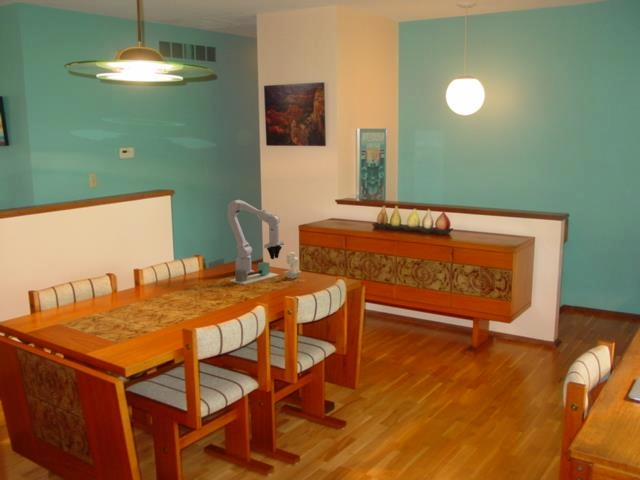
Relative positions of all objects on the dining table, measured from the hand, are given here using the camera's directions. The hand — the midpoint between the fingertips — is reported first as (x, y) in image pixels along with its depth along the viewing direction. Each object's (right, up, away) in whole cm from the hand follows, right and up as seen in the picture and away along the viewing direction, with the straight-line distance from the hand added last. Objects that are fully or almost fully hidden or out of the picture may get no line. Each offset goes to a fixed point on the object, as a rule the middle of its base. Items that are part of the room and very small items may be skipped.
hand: (274, 258), depth 382 cm
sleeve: (-6, -9, -5) cm, 12 cm away
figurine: (+11, -11, -8) cm, 18 cm away
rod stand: (-10, -11, -10) cm, 19 cm away
